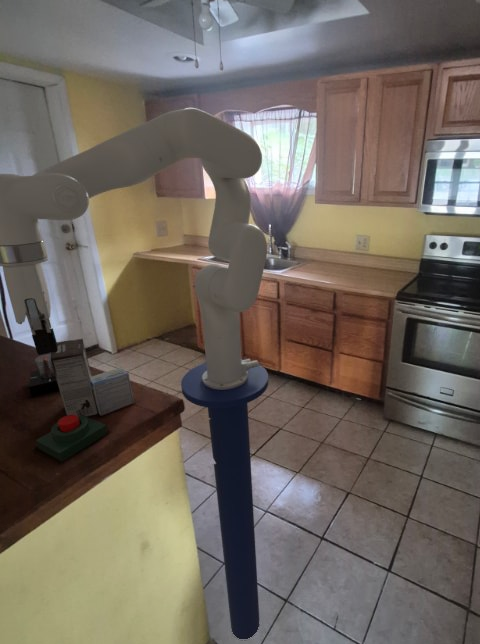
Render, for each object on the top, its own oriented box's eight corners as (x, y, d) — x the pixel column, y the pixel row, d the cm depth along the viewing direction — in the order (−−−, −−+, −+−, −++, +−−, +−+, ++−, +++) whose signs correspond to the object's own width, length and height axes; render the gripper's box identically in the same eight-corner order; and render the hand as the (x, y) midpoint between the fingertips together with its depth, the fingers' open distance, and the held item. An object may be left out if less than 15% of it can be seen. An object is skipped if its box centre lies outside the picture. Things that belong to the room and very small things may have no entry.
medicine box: (128, 396, 94) (122, 366, 90) (135, 403, 91) (128, 372, 87) (94, 408, 89) (86, 377, 85) (100, 416, 86) (92, 384, 82)
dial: (40, 372, 98) (35, 354, 96) (60, 369, 100) (55, 351, 98) (39, 380, 95) (33, 361, 93) (59, 376, 97) (54, 358, 95)
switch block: (84, 422, 84) (80, 407, 82) (107, 433, 80) (104, 418, 79) (38, 448, 76) (33, 432, 74) (62, 462, 72) (57, 445, 71)
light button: (73, 419, 79) (71, 412, 78) (83, 424, 77) (81, 417, 77) (56, 428, 76) (53, 421, 75) (66, 434, 74) (64, 427, 74)
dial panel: (71, 373, 105) (69, 363, 103) (73, 387, 98) (70, 377, 96) (33, 381, 100) (30, 371, 99) (32, 397, 93) (28, 386, 92)
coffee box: (68, 402, 91) (51, 342, 85) (97, 395, 94) (83, 337, 88) (67, 422, 84) (48, 358, 77) (99, 414, 87) (83, 352, 80)
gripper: (-3, 248, 67) (26, 341, 74) (-16, 264, 55) (20, 373, 62) (47, 244, 70) (70, 333, 78) (45, 259, 58) (72, 363, 66)
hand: (48, 350), depth 70 cm, fingers closed
